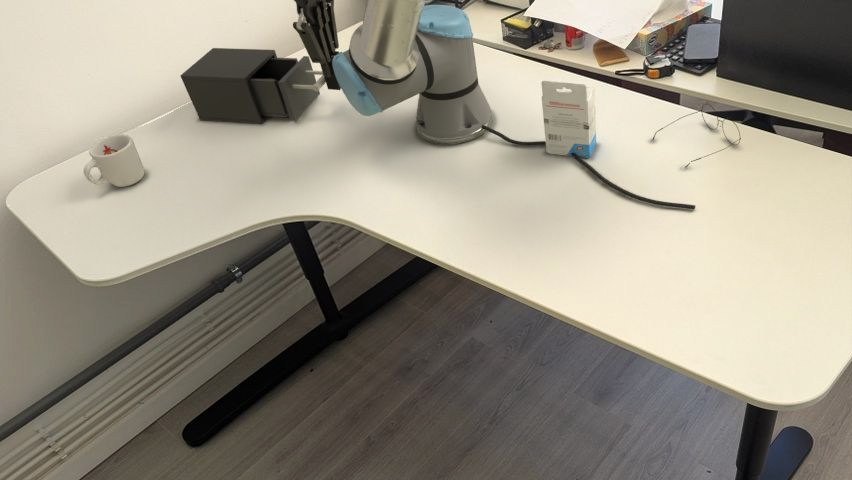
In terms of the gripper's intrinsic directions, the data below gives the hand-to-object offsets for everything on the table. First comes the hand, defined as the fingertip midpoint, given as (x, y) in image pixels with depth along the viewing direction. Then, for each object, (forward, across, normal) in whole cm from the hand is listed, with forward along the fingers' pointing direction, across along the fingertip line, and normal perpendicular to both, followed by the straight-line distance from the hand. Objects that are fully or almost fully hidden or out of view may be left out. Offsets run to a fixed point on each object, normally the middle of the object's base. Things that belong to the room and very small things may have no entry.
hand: (335, 87), depth 150 cm
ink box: (+5, +8, +51) cm, 52 cm away
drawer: (+5, 0, -12) cm, 13 cm away
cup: (+6, +31, -33) cm, 46 cm away
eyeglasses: (+5, +4, +73) cm, 74 cm away
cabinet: (+6, +1, -24) cm, 24 cm away
